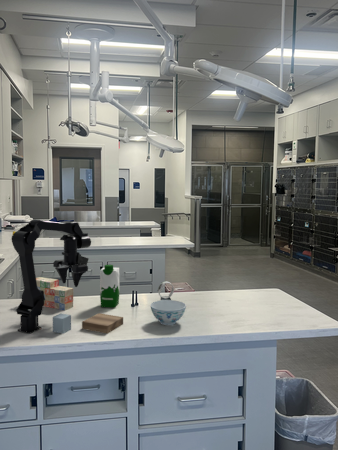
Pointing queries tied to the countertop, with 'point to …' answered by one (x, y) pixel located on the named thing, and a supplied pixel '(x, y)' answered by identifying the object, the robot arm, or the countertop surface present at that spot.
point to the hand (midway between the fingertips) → (70, 285)
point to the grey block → (61, 323)
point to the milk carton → (109, 286)
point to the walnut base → (102, 323)
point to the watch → (162, 289)
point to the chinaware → (168, 311)
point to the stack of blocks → (55, 293)
